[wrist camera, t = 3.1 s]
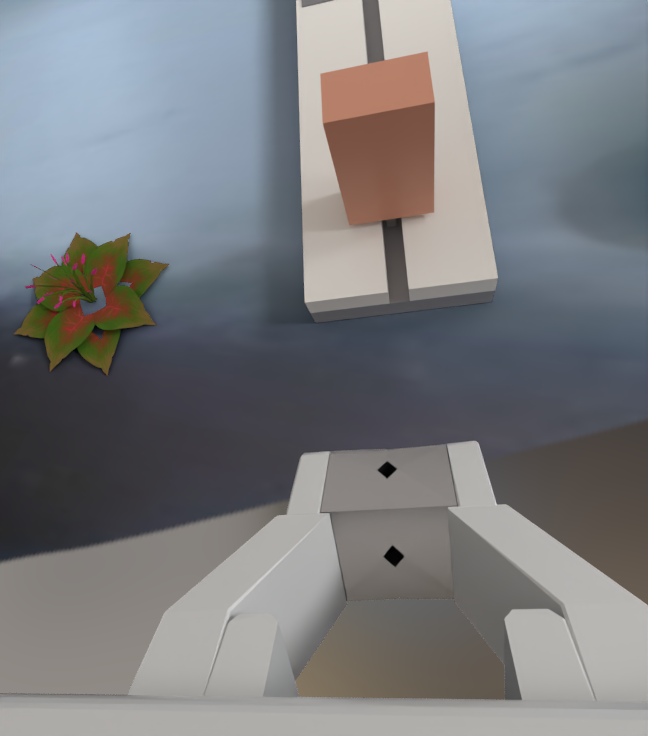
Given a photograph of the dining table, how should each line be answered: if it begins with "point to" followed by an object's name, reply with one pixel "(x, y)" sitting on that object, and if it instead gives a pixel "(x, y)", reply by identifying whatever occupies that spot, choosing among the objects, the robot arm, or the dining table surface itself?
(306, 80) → the white slider track base
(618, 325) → the dining table surface
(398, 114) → the fader
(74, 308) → the lily flower
